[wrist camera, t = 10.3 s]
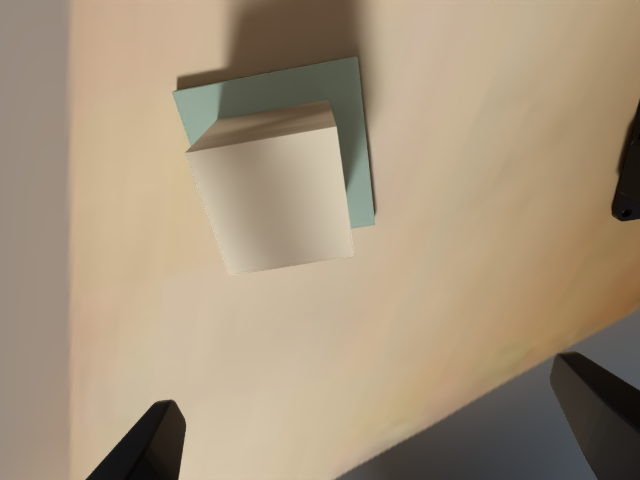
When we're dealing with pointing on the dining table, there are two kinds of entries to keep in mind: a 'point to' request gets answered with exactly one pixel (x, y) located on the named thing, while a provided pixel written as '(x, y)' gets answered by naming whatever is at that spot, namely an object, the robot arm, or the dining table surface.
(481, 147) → the dining table surface
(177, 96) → the pad
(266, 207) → the birch block
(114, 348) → the dining table surface
